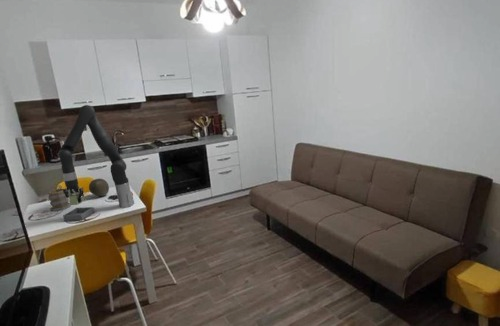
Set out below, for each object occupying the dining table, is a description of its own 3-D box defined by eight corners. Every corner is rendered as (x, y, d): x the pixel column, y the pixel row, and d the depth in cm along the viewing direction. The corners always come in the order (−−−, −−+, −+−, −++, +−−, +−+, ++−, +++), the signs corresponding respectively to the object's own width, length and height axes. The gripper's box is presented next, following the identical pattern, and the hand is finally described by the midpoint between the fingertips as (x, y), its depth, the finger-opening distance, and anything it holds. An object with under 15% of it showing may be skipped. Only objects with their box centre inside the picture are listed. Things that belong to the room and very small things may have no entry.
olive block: (82, 202, 207) (80, 193, 206) (77, 204, 202) (75, 196, 201) (75, 202, 208) (73, 194, 207) (70, 205, 203) (68, 196, 202)
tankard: (68, 209, 225) (63, 190, 222) (49, 212, 222) (44, 193, 218) (74, 200, 244) (70, 183, 240) (57, 203, 240) (52, 186, 237)
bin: (94, 212, 213) (93, 207, 212) (82, 220, 200) (80, 214, 199) (77, 213, 215) (76, 207, 214) (64, 221, 202) (62, 215, 201)
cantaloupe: (107, 192, 258) (103, 175, 254) (112, 195, 248) (108, 178, 244) (89, 197, 249) (85, 180, 245) (94, 200, 239) (90, 182, 235)
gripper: (84, 176, 204) (89, 200, 208) (65, 177, 206) (70, 201, 210) (76, 180, 196) (82, 204, 200) (56, 181, 198) (62, 205, 202)
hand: (76, 202), depth 205 cm, fingers closed on olive block, 5 cm apart
